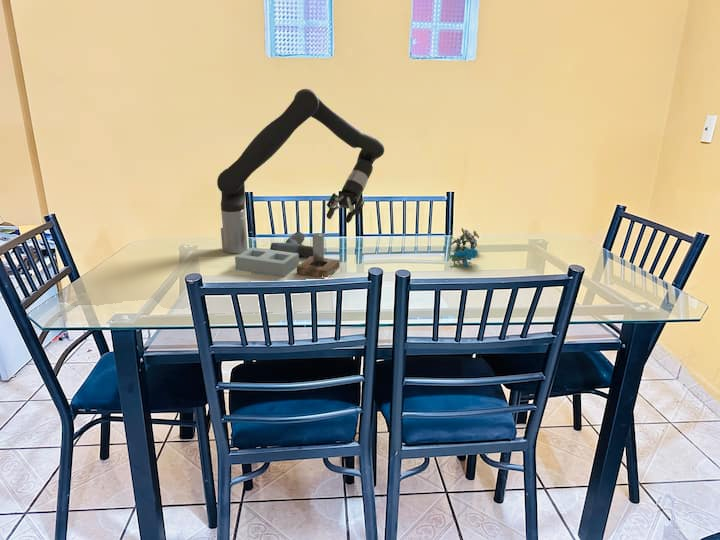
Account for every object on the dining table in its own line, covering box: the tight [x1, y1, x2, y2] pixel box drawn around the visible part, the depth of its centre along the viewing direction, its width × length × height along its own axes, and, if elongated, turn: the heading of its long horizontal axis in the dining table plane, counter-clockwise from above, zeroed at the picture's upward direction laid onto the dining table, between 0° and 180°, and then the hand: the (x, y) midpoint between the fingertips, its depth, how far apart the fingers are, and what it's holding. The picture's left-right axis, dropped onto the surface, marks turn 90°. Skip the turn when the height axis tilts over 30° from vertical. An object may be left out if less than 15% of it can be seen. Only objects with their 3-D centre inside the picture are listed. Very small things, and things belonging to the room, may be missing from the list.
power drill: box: [269, 231, 313, 258], centre depth 203 cm, size 5×19×20 cm
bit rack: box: [234, 246, 300, 278], centre depth 183 cm, size 20×12×5 cm, turn 71°
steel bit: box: [312, 232, 325, 267], centre depth 179 cm, size 4×4×14 cm
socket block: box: [296, 256, 341, 278], centre depth 181 cm, size 12×12×3 cm
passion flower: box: [450, 227, 480, 251], centre depth 206 cm, size 11×11×12 cm
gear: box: [448, 248, 479, 268], centre depth 190 cm, size 11×6×10 cm
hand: (337, 219), depth 185 cm, fingers open, 8 cm apart
